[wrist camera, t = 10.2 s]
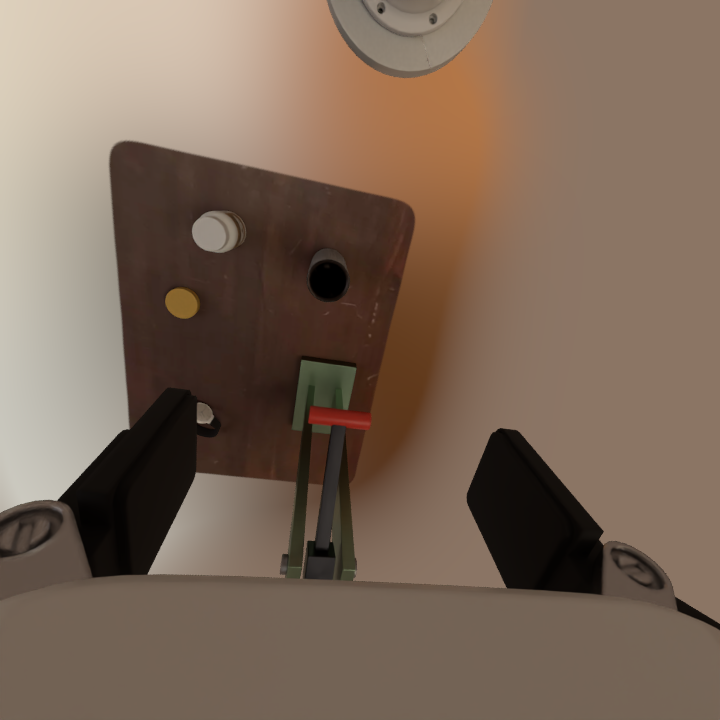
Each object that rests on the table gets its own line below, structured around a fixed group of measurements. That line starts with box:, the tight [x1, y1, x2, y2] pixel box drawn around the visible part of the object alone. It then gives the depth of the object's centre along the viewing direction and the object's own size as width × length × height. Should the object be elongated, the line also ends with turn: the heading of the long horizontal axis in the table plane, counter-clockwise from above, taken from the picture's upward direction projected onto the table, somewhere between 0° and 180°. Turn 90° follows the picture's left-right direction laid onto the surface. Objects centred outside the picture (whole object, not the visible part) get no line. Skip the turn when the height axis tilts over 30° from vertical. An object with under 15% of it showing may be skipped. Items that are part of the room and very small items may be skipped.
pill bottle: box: [192, 211, 246, 253], centre depth 40 cm, size 4×4×8 cm
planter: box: [307, 248, 350, 302], centre depth 41 cm, size 4×4×10 cm
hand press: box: [280, 356, 357, 581], centre depth 40 cm, size 12×8×30 cm, turn 169°
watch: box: [197, 403, 221, 437], centre depth 51 cm, size 8×5×4 cm, turn 48°
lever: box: [303, 406, 371, 580], centre depth 28 cm, size 14×5×2 cm, turn 169°
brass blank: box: [165, 287, 200, 318], centre depth 46 cm, size 4×4×1 cm
